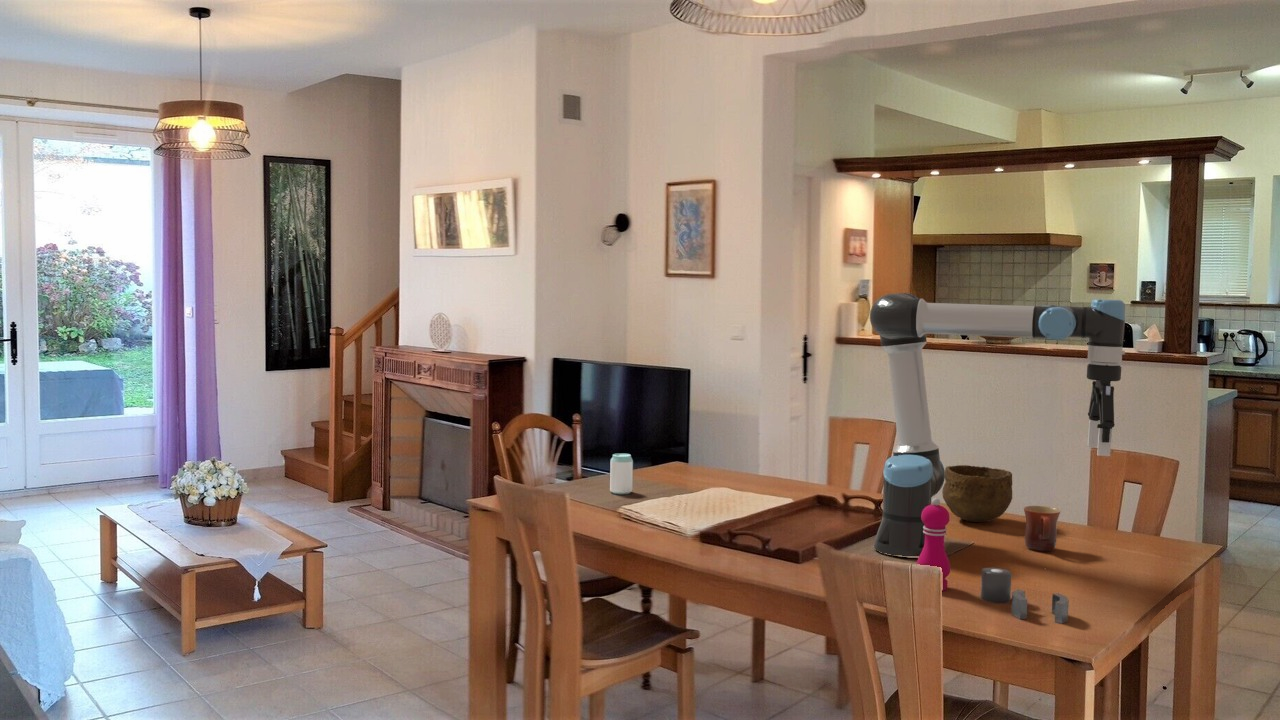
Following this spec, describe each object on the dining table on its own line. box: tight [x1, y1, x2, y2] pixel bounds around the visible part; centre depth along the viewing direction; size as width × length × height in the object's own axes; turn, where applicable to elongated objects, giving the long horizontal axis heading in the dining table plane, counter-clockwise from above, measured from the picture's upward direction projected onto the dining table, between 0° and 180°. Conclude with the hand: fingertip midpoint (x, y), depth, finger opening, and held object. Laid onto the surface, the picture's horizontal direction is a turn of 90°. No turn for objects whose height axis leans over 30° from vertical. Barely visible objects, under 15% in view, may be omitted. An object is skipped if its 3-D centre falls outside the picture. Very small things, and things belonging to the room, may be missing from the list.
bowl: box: [941, 464, 1013, 523], centre depth 291 cm, size 19×19×15 cm
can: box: [609, 453, 634, 495], centre depth 322 cm, size 7×7×12 cm
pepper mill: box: [916, 497, 951, 592], centre depth 226 cm, size 7×7×20 cm
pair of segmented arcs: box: [1010, 589, 1070, 624], centre depth 208 cm, size 10×7×4 cm
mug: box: [1023, 505, 1061, 553], centre depth 260 cm, size 12×9×10 cm
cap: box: [980, 567, 1013, 604], centre depth 219 cm, size 6×6×6 cm
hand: (1098, 451), depth 248 cm, fingers open, 13 cm apart
